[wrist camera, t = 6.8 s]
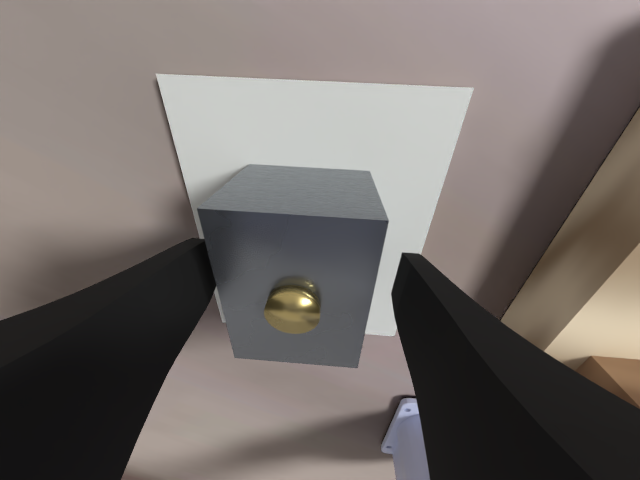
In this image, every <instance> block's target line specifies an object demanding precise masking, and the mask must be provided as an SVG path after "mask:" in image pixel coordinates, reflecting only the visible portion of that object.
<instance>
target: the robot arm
mask: <svg viewBox="0 0 640 480" xmlns="http://www.w3.org/2000/svg"><path fill="white" fill-rule="evenodd" d="M215 288H216V282H215V278H214V274H213V270H212V266H211V263H210V259H209V255H208V251H207V247H206V243H205V239H198V238H192V239H189V240H186V241H184V242H182V243H180V244H178V245H175V246H173V247H171V248H169V249H167V250H165V251H163V252H161V253H159V254H157V255H155V256H153V257H151V258H149V259H147V260H145V261H143V262H141V263H139V264H137V265H135V266H133V267H131V268H129V269H127V270H125V271H123V272H121V273H118V274H116V275H114V276H112V277H110V278H108V279H105V280H103V281H101V282H99V283H97V284H95V285H92V286H90V287H88V288H86V289H83V290H81V291H78V292H76V293H74V294H71V295H69V296H66V297H64V298H61V299H59V300H56V301H54V302H51V303H49V304H46V305H43V306H41V307H38V308H35V309H33V310H30V311H27V312H24V313H21V314H18V315H15V316H13V317H10V318H7V319H4V320H1V321H0V480H121V478H122V475H123V473H124V470H125V468H126V466H127V463H128V461H129V458H130V456H131V453H132V451H133V449H134V446H135V444H136V441H137V439H138V437H139V434H140V432H141V430H142V428H143V426H144V423H145V421H146V419H147V417H148V414H149V412H150V410H151V408H152V405H153V403H154V401H155V399H156V397H157V395H158V393H159V391H160V389H161V387H162V384H163V382H164V380H165V378H166V376H167V374H168V372H169V370H170V368H171V367H172V365H173V363H174V361H175V359H176V358H177V356H178V354H179V353H180V351H181V349H182V348H183V346H184V344H185V343H186V341H187V340H188V338H189V336H190V335H191V333H192V331H193V330H194V328H195V326H196V325H197V323H198V321H199V320H200V318H201V316H202V315H203V313H204V311H205V309H206V308H207V306H208V304H209V302H210V300H211V298H212V295H213V293H214V291H215ZM391 297H392V304H393V311H394V317H395V321H396V325H397V329H398V332H399V336H400V340H401V343H402V347H403V350H404V354H405V357H406V361H407V364H408V368H409V371H410V375H411V378H412V382H413V386H414V391H415V395H416V398H404V399H402V400H401V402H400V404H399V406H398V409H397V411H396V413H395V415H394V418H393V420H392V422H391V424H390V427H389V429H388V431H387V434H386V436H385V438H384V440H383V443H382V445H381V451H382V452H383V453H388V454H392V455H393V462H394V468H395V475H396V480H640V409H639V408H637V407H636V406H634V405H632V404H630V403H628V402H626V401H625V400H623V399H621V398H620V397H618V396H616V395H614V394H613V393H611V392H609V391H607V390H606V389H604V388H602V387H601V386H599V385H597V384H595V383H594V382H592V381H590V380H589V379H587V378H586V377H584V376H582V375H581V374H579V373H577V372H576V371H574V370H573V369H571V368H569V367H568V366H566V365H564V364H563V363H561V362H560V361H558V360H556V359H555V358H553V357H552V356H550V355H549V354H547V353H546V352H544V351H542V350H541V349H539V348H538V347H536V346H535V345H534V344H532V343H531V342H529V341H528V340H526V339H525V338H523V337H522V336H520V335H519V334H518V333H516V332H515V331H513V330H512V329H510V328H509V327H508V326H506V325H505V324H503V323H502V322H501V321H499V320H498V319H497V318H495V317H494V316H493V315H492V314H490V313H489V312H488V311H486V310H485V309H484V308H483V307H481V306H480V305H479V304H477V303H476V302H475V301H474V300H473V299H471V298H470V297H469V296H468V295H467V294H465V293H464V292H463V291H462V290H461V289H459V288H458V287H457V286H456V285H455V284H454V283H452V282H451V281H450V280H449V279H448V278H447V277H446V276H445V275H443V274H442V273H441V272H440V271H439V270H438V269H437V268H436V267H434V266H433V265H432V264H431V263H430V262H429V261H428V260H426V259H425V258H424V257H423V256H422V255H420V254H419V253H404V252H402V254H401V258H400V262H399V266H398V269H397V273H396V277H395V280H394V284H393V288H392V292H391Z"/></svg>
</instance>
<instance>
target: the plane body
mask: <svg viewBox="0 0 640 480" xmlns="http://www.w3.org/2000/svg"><path fill="white" fill-rule="evenodd" d="M501 322H502V323H503V324H505V325H506V326H508V327H509V328H510V329H512V330H513V331H515V332H516V333H518V334H519V335H520V336H522V337H523V338H525V339H526V340H528V341H529V342H531V343H532V344H534V345H535V346H536V347H538V348H539V349H541V350H542V351H544V352H546V353H547V354H549V355H550V356H552V357H553V358H555V359H556V360H558V361H560V362H561V363H563V364H564V365H566V366H568V367H569V368H571V369H573V370H574V371H576V372H577V373H579V374H581V375H582V376H584V377H586V378H587V379H589V380H590V381H592V382H594V383H595V384H597V385H599V386H601V387H602V388H604V389H606V390H607V391H609V392H611V393H613V394H614V395H616V396H618V397H620V398H621V399H623V400H625V401H626V402H628V403H630V404H632V405H634V406H636V407H637V408H639V409H640V107H639V109H638V111H637V112H636V114H635V115H634V117H633V118H632V120H631V121H630V123H629V124H628V126H627V127H626V129H625V130H624V132H623V133H622V135H621V137H620V138H619V140H618V141H617V143H616V144H615V146H614V147H613V149H612V150H611V152H610V153H609V155H608V156H607V158H606V160H605V161H604V163H603V164H602V166H601V167H600V169H599V170H598V172H597V173H596V175H595V176H594V178H593V179H592V181H591V183H590V184H589V186H588V187H587V189H586V190H585V192H584V193H583V195H582V196H581V198H580V199H579V201H578V202H577V204H576V206H575V207H574V209H573V210H572V212H571V213H570V215H569V216H568V218H567V219H566V221H565V222H564V224H563V225H562V227H561V229H560V230H559V232H558V233H557V235H556V236H555V238H554V239H553V241H552V242H551V244H550V245H549V247H548V248H547V250H546V252H545V253H544V255H543V256H542V258H541V259H540V261H539V262H538V264H537V265H536V267H535V268H534V270H533V271H532V273H531V275H530V276H529V278H528V279H527V281H526V282H525V284H524V285H523V287H522V288H521V290H520V291H519V293H518V294H517V296H516V298H515V299H514V301H513V302H512V304H511V305H510V307H509V308H508V310H507V311H506V313H505V314H504V316H503V317H502V319H501Z"/></svg>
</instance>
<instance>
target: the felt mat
mask: <svg viewBox="0 0 640 480" xmlns="http://www.w3.org/2000/svg"><path fill="white" fill-rule="evenodd" d="M156 76H157V80H158V84H159V87H160V91H161V95H162V99H163V102H164V106H165V110H166V114H167V117H168V121H169V125H170V129H171V132H172V136H173V140H174V144H175V147H176V151H177V155H178V159H179V162H180V166H181V170H182V174H183V177H184V181H185V185H186V189H187V192H188V196H189V200H190V204H191V207H192V211H193V215H194V219H195V222H196V226H197V230H198V234H199V237H200V239H204V235H203V231H202V227H201V223H200V219H199V215H198V212H197V208H198V207H199V206H200V205H201V204H203V203H204V202H205V201H206V200H207V199H209V198H210V197H211V196H212V195H213V194H214V193H216V192H217V191H218V190H219V189H220V188H222V187H223V186H224V185H225V184H226V183H228V182H229V181H230V180H231V179H232V178H234V177H235V176H236V175H237V174H238V173H239V172H241V171H242V170H243V169H244V168H245V167H247V166H248V165H249V164H258V165H276V166H293V167H311V168H329V169H347V170H364V171H370V173H371V175H372V178H373V181H374V183H375V186H376V188H377V191H378V194H379V196H380V199H381V201H382V204H383V206H384V209H385V212H386V214H387V217H388V219H389V223H388V228H387V232H386V237H385V242H384V246H383V251H382V256H381V260H380V265H379V270H378V274H377V279H376V284H375V288H374V293H373V298H372V302H371V307H370V312H369V316H368V321H367V326H366V330H365V334H372V335H385V336H395V333H396V330H397V325H396V321H395V317H394V311H393V304H392V297H391V292H392V288H393V284H394V280H395V277H396V273H397V269H398V266H399V262H400V258H401V254H402V252H404V253H419V254H420V255H421V252H422V249H423V246H424V242H425V239H426V236H427V233H428V230H429V227H430V224H431V220H432V217H433V214H434V211H435V208H436V205H437V202H438V199H439V195H440V192H441V189H442V186H443V183H444V180H445V177H446V174H447V170H448V167H449V164H450V161H451V158H452V155H453V152H454V149H455V145H456V142H457V139H458V136H459V133H460V130H461V127H462V123H463V120H464V117H465V114H466V111H467V108H468V105H469V102H470V98H471V95H472V92H473V89H474V88H464V87H442V86H419V85H397V84H374V83H351V82H329V81H306V80H284V79H261V78H239V77H216V76H194V75H171V74H156ZM214 294H215V297H216V301H217V305H218V309H219V312H220V316H221V320H222V323H226V321H225V317H224V314H223V310H222V306H221V302H220V298H219V294H218V290H217V286H216V288H215V291H214Z"/></svg>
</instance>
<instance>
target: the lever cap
mask: <svg viewBox="0 0 640 480" xmlns="http://www.w3.org/2000/svg"><path fill="white" fill-rule="evenodd" d="M197 212H198V215H199V219H200V223H201V227H202V231H203V235H204V239H205V243H206V247H207V251H208V255H209V259H210V263H211V266H212V270H213V274H214V278H215V282H216V286H217V290H218V294H219V298H220V302H221V306H222V310H223V314H224V317H225V321H226V325H227V329H228V333H229V337H230V341H231V345H232V349H233V353H234V357H235V358H243V359H255V360H267V361H279V362H290V363H302V364H314V365H326V366H338V367H350V368H358V363H359V358H360V354H361V349H362V344H363V340H364V335H365V330H366V326H367V321H368V316H369V312H370V307H371V302H372V298H373V293H374V288H375V284H376V279H377V274H378V270H379V265H380V260H381V256H382V251H383V246H384V242H385V237H386V232H387V228H388V223H389V219H388V217H387V214H386V212H385V209H384V206H383V204H382V201H381V199H380V196H379V194H378V191H377V188H376V186H375V183H374V181H373V178H372V175H371V173H370V171H364V170H347V169H329V168H311V167H293V166H276V165H258V164H249V165H248V166H247V167H245V168H244V169H243V170H242V171H241V172H239V173H238V174H237V175H236V176H235V177H234V178H232V179H231V180H230V181H229V182H228V183H226V184H225V185H224V186H223V187H222V188H220V189H219V190H218V191H217V192H216V193H214V194H213V195H212V196H211V197H210V198H209V199H207V200H206V201H205V202H204V203H203V204H201V205H200V206H199V207H198V208H197Z"/></svg>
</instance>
